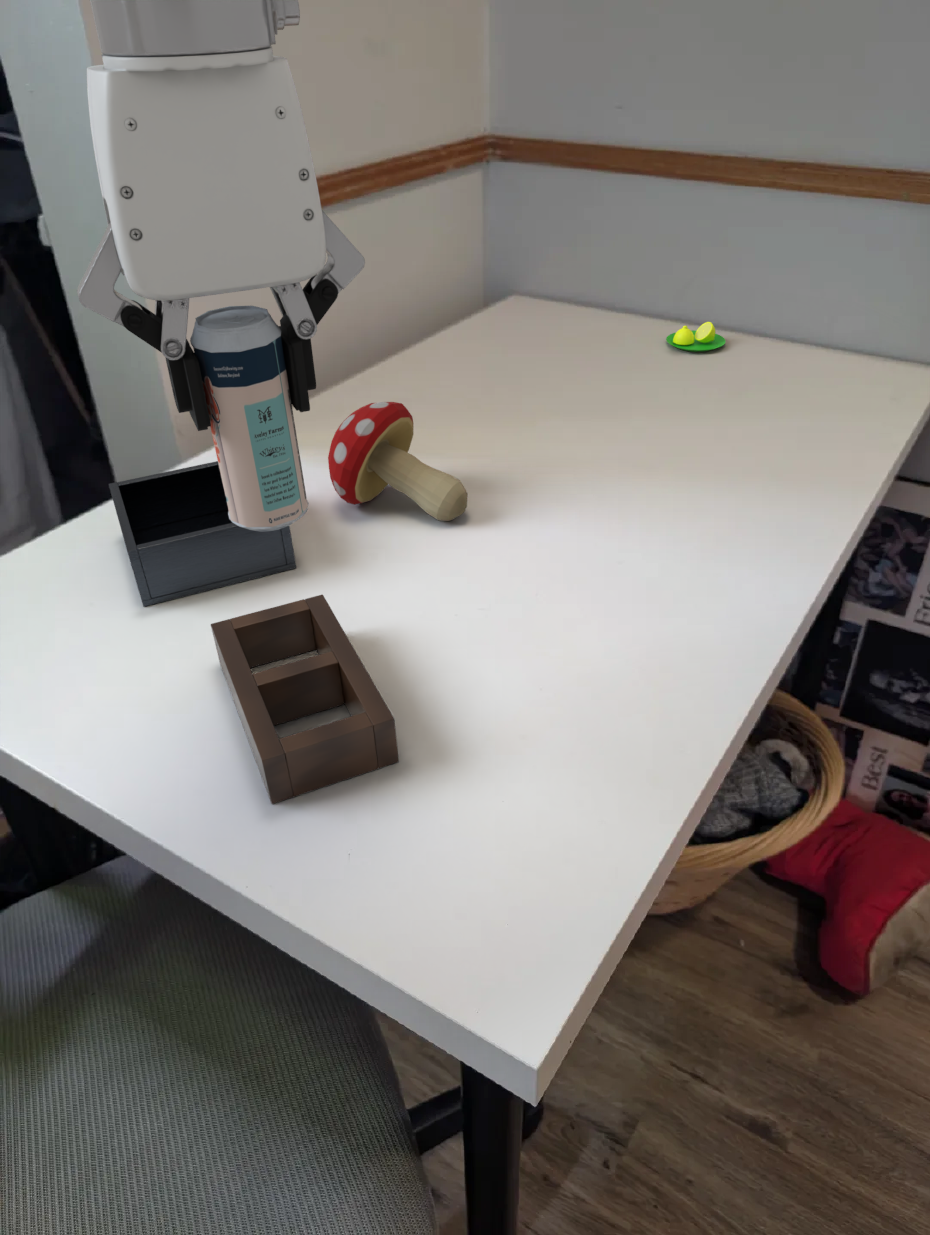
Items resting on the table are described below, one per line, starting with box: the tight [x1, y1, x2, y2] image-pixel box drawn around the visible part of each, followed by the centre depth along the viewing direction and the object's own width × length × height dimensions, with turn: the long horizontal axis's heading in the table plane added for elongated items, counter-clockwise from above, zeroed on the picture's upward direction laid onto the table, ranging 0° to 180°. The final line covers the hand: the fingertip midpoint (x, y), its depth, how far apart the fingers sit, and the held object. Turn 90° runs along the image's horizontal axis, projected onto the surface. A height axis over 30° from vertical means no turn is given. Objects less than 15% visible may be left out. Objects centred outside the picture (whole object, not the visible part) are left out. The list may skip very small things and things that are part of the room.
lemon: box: [665, 321, 726, 353], centre depth 126 cm, size 8×8×3 cm
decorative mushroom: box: [327, 401, 468, 522], centre depth 90 cm, size 11×11×15 cm
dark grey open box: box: [108, 460, 297, 607], centre depth 85 cm, size 14×14×6 cm
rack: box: [210, 594, 400, 805], centre depth 66 cm, size 9×16×4 cm, turn 24°
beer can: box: [189, 305, 310, 531], centre depth 52 cm, size 5×5×12 cm
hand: (248, 409), depth 51 cm, fingers closed on beer can, 4 cm apart
